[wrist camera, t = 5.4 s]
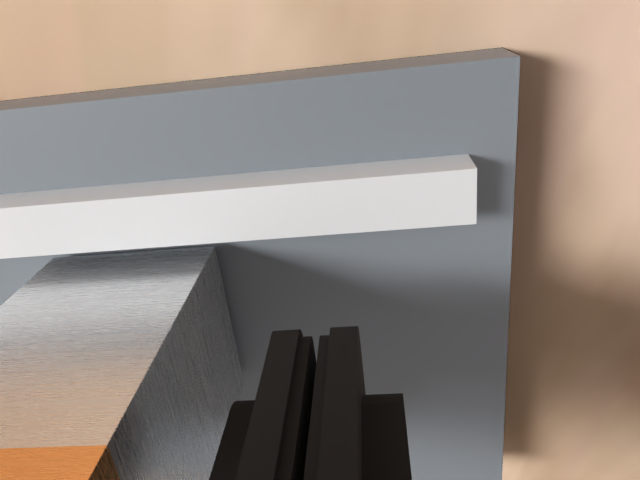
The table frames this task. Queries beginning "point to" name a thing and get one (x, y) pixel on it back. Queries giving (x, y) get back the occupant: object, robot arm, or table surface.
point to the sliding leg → (117, 368)
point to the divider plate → (306, 217)
